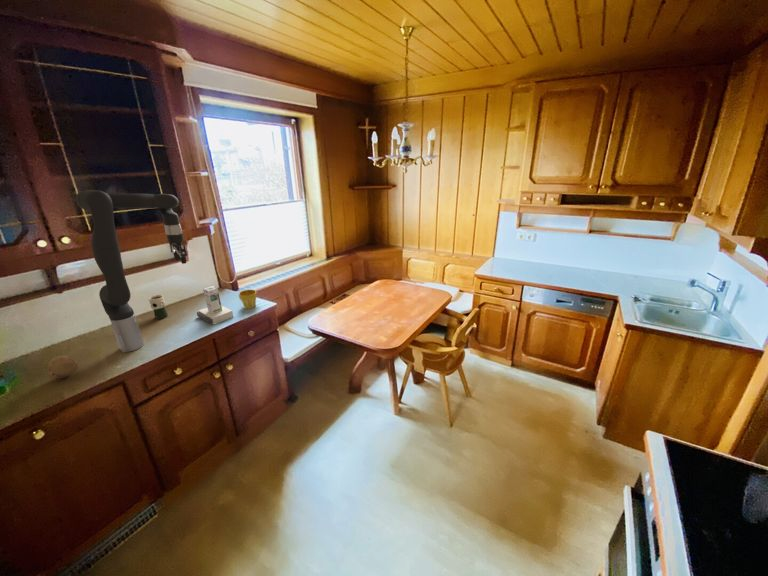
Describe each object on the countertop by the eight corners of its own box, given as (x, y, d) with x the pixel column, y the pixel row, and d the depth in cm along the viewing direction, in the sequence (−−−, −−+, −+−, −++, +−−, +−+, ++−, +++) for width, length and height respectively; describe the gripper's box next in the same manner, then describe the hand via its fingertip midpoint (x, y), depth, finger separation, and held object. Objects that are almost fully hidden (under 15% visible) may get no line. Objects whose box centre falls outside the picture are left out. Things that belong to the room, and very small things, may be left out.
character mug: (149, 317, 186) (143, 297, 181) (161, 312, 192) (155, 293, 187) (162, 321, 182) (156, 301, 177) (173, 316, 188) (168, 296, 183)
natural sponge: (86, 369, 140) (78, 350, 137) (71, 382, 132) (62, 362, 128) (63, 370, 139) (55, 351, 135) (46, 384, 131) (37, 364, 127)
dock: (211, 325, 179) (210, 319, 177) (197, 317, 187) (196, 311, 186) (233, 316, 188) (232, 310, 187) (219, 309, 197) (218, 303, 196)
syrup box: (212, 313, 183) (207, 290, 177) (207, 310, 186) (202, 288, 181) (222, 310, 187) (217, 287, 182) (217, 307, 190) (212, 285, 185)
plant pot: (248, 311, 195) (245, 297, 191) (237, 307, 200) (235, 293, 196) (261, 305, 203) (259, 291, 199) (251, 301, 208) (249, 288, 204)
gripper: (160, 231, 169) (167, 260, 175) (172, 235, 161) (178, 266, 167) (176, 229, 174) (182, 258, 180) (187, 233, 166) (193, 262, 172)
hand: (180, 261), depth 174 cm, fingers open, 8 cm apart
